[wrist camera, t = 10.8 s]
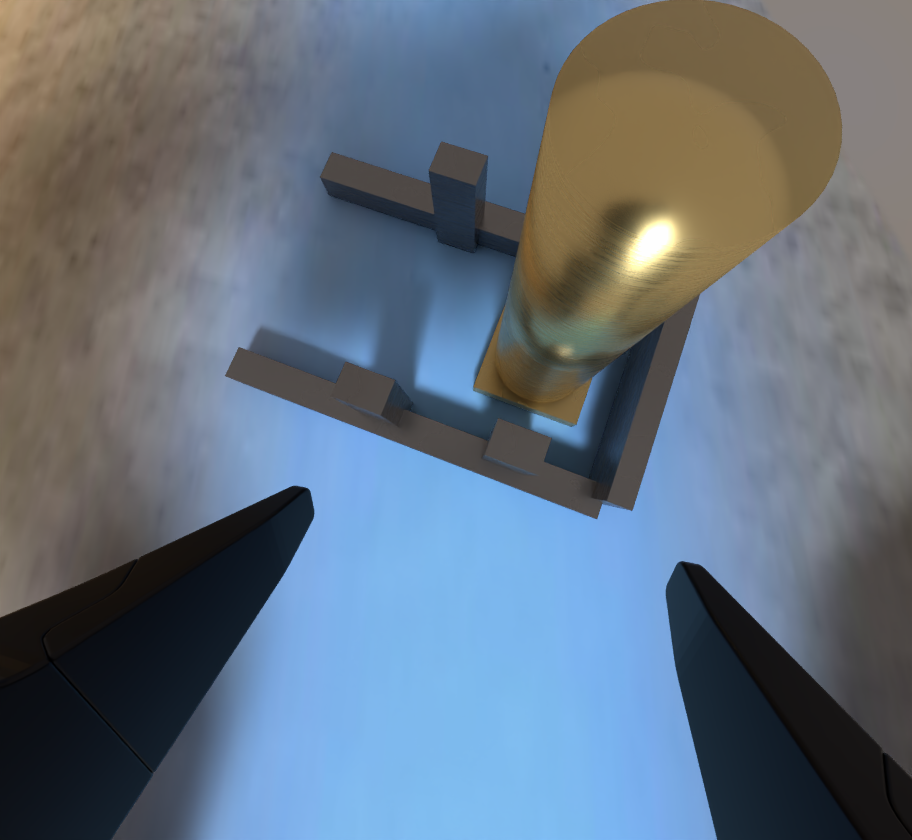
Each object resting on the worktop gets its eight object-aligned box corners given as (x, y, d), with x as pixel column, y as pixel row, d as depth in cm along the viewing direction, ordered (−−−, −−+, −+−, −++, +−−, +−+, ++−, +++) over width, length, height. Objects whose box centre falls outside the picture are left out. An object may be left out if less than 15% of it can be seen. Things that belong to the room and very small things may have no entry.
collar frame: (598, 520, 17) (645, 536, 12) (240, 382, 18) (168, 353, 14) (693, 227, 19) (762, 150, 14) (361, 124, 20) (331, 26, 16)
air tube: (571, 426, 18) (819, 314, 5) (473, 390, 18) (484, 206, 6) (603, 333, 18) (894, 30, 6) (508, 300, 19) (588, -48, 6)
